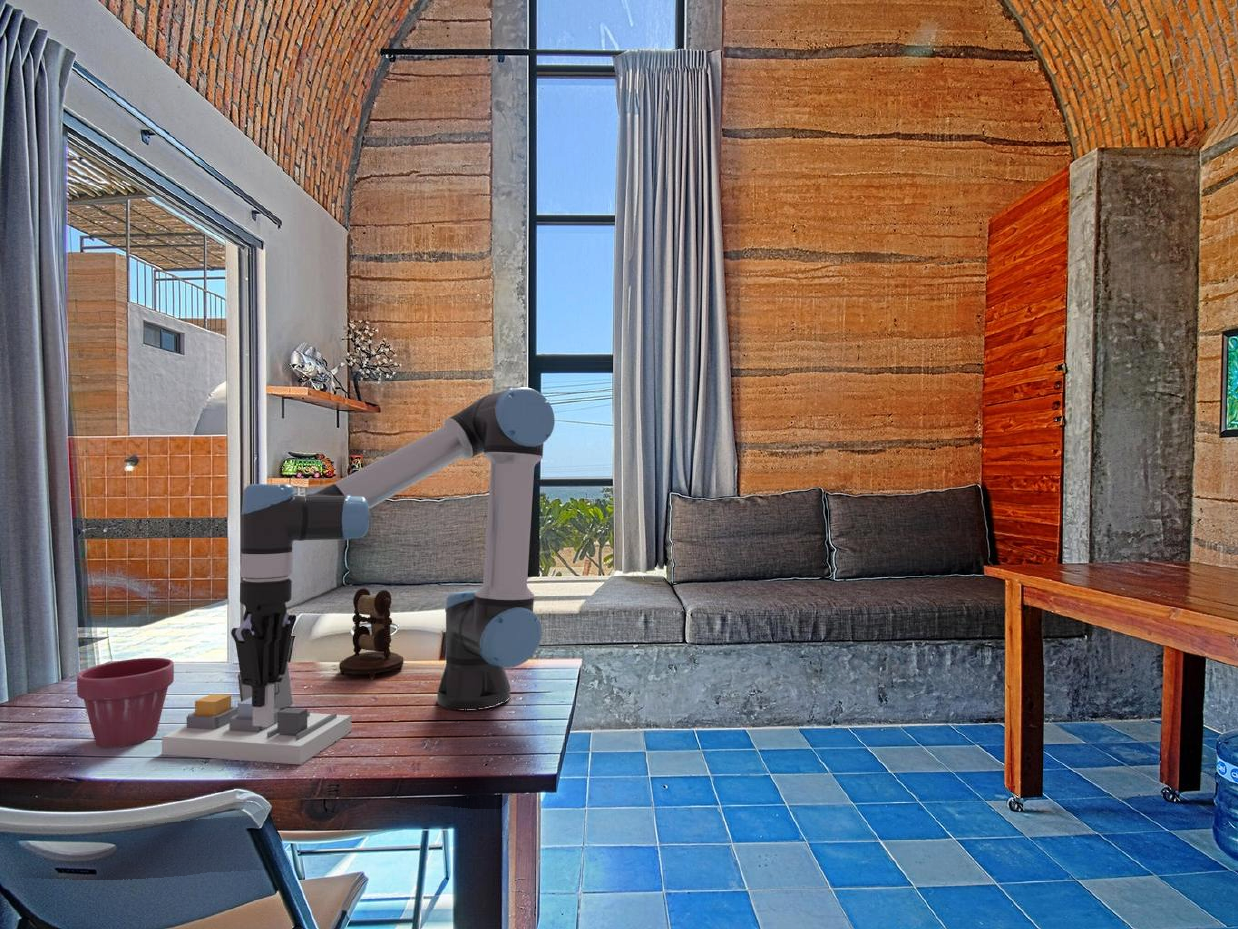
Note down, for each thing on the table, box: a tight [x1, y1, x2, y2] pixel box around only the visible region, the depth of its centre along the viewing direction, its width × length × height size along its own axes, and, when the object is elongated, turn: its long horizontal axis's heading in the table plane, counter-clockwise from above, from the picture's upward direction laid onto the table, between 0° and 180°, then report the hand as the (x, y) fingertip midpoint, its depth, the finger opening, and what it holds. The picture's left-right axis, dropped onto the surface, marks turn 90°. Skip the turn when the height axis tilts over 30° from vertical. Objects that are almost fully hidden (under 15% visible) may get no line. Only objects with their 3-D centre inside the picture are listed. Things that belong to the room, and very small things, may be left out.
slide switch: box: [277, 707, 308, 735], centre depth 119 cm, size 4×2×4 cm, turn 80°
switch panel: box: [161, 705, 352, 765], centre depth 123 cm, size 26×15×5 cm, turn 80°
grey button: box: [237, 697, 253, 719], centre depth 124 cm, size 4×4×3 cm
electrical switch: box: [237, 662, 294, 710], centre depth 141 cm, size 9×5×9 cm, turn 141°
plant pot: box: [76, 657, 175, 748], centre depth 126 cm, size 14×14×13 cm
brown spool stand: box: [338, 588, 405, 679], centre depth 170 cm, size 15×15×20 cm
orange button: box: [194, 693, 232, 716], centre depth 125 cm, size 4×4×3 cm
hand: (263, 724), depth 112 cm, fingers closed
